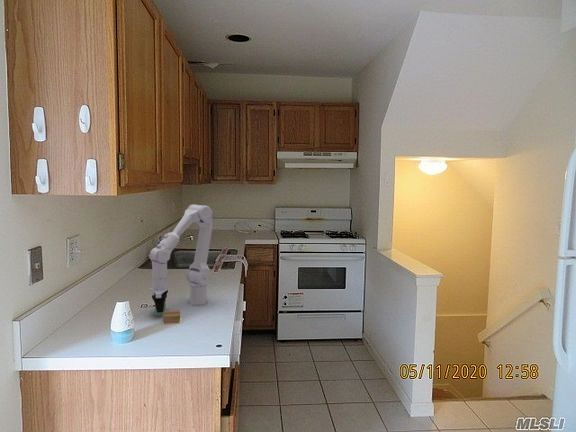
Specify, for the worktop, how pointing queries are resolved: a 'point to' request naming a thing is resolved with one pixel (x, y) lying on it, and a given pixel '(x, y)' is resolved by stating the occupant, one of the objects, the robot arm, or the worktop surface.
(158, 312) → the teal block
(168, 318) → the walnut slab
